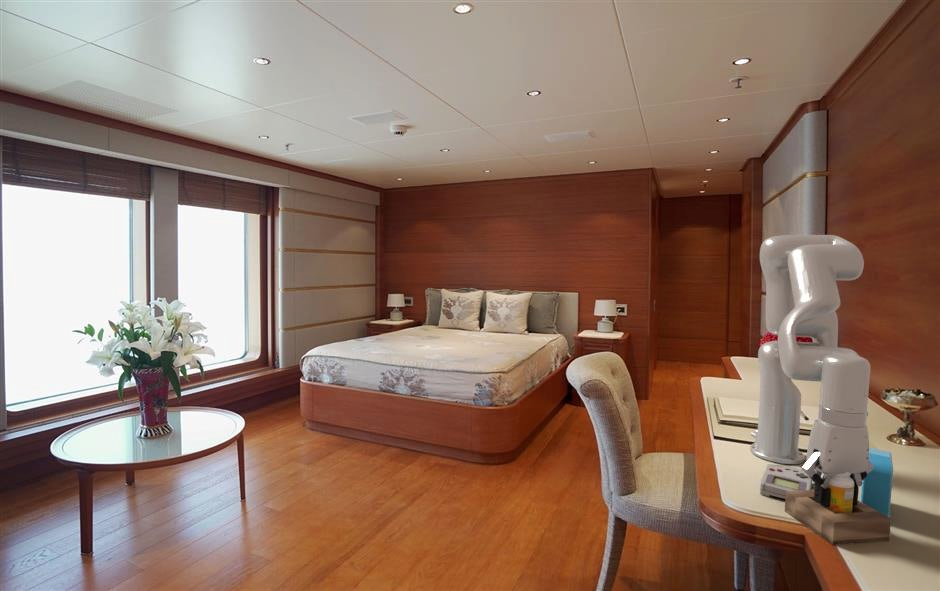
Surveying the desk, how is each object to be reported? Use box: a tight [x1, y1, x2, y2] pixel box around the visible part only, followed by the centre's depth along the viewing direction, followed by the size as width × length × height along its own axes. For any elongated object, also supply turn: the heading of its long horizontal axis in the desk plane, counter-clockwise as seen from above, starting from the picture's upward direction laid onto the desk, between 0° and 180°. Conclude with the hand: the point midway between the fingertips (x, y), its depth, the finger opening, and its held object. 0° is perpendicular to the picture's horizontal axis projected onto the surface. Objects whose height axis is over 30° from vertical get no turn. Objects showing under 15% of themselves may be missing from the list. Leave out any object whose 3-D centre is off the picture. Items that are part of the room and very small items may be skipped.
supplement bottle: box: [820, 472, 854, 514], centre depth 98 cm, size 5×5×10 cm
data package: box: [860, 447, 894, 518], centre depth 104 cm, size 12×4×12 cm, turn 141°
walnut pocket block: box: [784, 489, 892, 546], centre depth 98 cm, size 12×12×4 cm
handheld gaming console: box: [759, 463, 813, 499], centre depth 113 cm, size 9×4×15 cm
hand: (835, 502), depth 98 cm, fingers closed on supplement bottle, 5 cm apart
